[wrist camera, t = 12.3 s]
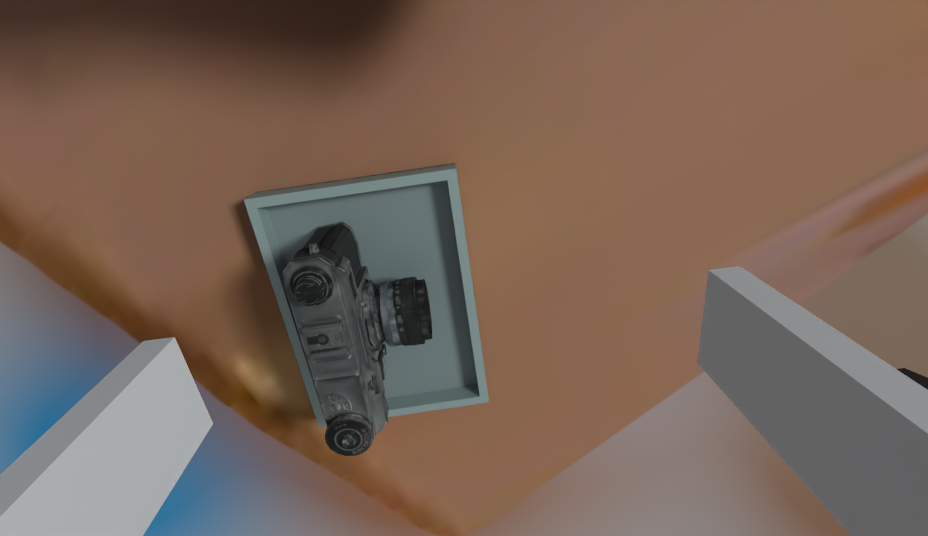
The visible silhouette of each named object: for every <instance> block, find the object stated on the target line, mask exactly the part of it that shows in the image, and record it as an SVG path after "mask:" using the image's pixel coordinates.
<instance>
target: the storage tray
mask: <svg viewBox="0 0 928 536" xmlns="http://www.w3.org/2000/svg"><path fill="white" fill-rule="evenodd" d="M244 202H245V205H246V208H247V211H248V215H249V218H250V221H251V224H252V227H253V230H254V233H255V236H256V239H257V242H258V245H259V248H260V251H261V254H262V257H263V260H264V263H265V266H266V269H267V272H268V275H269V278H270V281H271V284H272V287H273V290H274V293H275V296H276V299H277V302H278V305H279V308H280V311H281V314H282V317H283V320H284V323H285V326H286V330H287V333H288V336H289V339H290V342H291V345H292V348H293V351H294V354H295V357H296V360H297V363H298V366H299V369H300V372H301V375H302V378H303V381H304V384H305V387H306V390H307V393H308V396H309V399H310V402H311V405H312V408H313V411H314V414H315V417H316V420H317V423H318V426H319V427H324V426H327V425H326V421H325V418H324V414H323V412H322V409H321V403H320V400H319V397H318V395H317V392H316V389H315V384H314V381H313V377H312V374H311V371H310V368H309V364H308V361H307V358H306V354H305V351H304V348H303V345H302V341H301V338H300V335H299V332H298V328H297V325H296V322H295V318H294V315H293V312H292V309H291V305H290V304H289V302H288V299H287V293H286V289H285V284H284V277H283V271H284V269H285V268H286V266H287V265H288V264H289V262H290V261H291V260H292V259H293V257H294V255H295V254H296V252H297V251H298V250H299V249H302V248H303V246H304V245H305V244H306V242H307V241H308V240H309V239H310V238H311V236H312V235H313V234H314V233H315V231H316V230H317V228H318V227H319V226H325V225H330V224H335V223H339V222H344V223H346V224H347V225H349V226H350V227H351V228H352V229H353V232H354V235H355V237H356V240H357V242H358V246H359V251H360V255H361V260H362V265H363V266H367V268H368V272H369V276H370V280H372V281H373V283H374V284H375V286H376V288H378V289H380V286H381V283H383V282H393V281H395V280H397V279H403V278H408V277H416V278H417V280H421V279H424V280H425V282H426V286H427V291H428V296H429V303H430V312H431V319H432V339H429V340H425V344H420V345H409V346H404V345H399V346H395V347H390V346H388V344H387V343H386V341H384V342H383V344H385V345H386V351H387V354H386V355H383V356H384V360H385V370H386V376H385V379H384V380H383V383H384V388H385V392H386V397H387V402H388V406H389V410H388V417H392V416H399V415H406V414H412V413H419V412H426V411H433V410H439V409H446V408H453V407H460V406H466V405H473V404H480V403H487V402H489V398H488V391H487V384H486V377H485V370H484V363H483V356H482V348H481V341H480V334H479V327H478V320H477V313H476V306H475V299H474V292H473V285H472V277H471V270H470V263H469V256H468V249H467V242H466V235H465V228H464V221H463V213H462V206H461V199H460V192H459V185H458V178H457V171H456V166H455V163H452V164H446V165H439V166H432V167H425V168H418V169H412V170H405V171H398V172H391V173H384V174H378V175H371V176H364V177H357V178H350V179H344V180H337V181H330V182H323V183H316V184H309V185H303V186H296V187H289V188H282V189H275V190H269V191H262V192H255V193H254V194H252V195H250V196H249V197H247V198H246V199H244Z"/></svg>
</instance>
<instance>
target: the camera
mask: <svg viewBox="0 0 928 536" xmlns="http://www.w3.org/2000/svg"><path fill="white" fill-rule="evenodd" d="M283 277H284V284H285V289H286V293H287V299H288V302H289V304H290V305H291V309H292V312H293V315H294V318H295V322H296V325H297V328H298V332H299V335H300V338H301V341H302V345H303V348H304V351H305V354H306V358H307V361H308V364H309V368H310V371H311V374H312V377H313V381H314V384H315V389H316V392H317V395H318V397H319V400H320V403H321V409H322V412H323V414H324V418H325V421H326V425H327V430H326V434H325V440H326V443H327V445H328V446H329V448H330V449H331V450H333V451H334V452H336V453H337V454H341V455H344V456H355V455H359V454H362V453H363V452H365V451H366V450H368V448H369V447H370V446H371V444H372V441H373V439H374V438H375V436H376V432H380V431H381V430H382V428H383V427H384V426H385V425H386V424H387V422H388V410H389V406H388V402H387V397H386V392H385V388H384V383H383V380H384V379H385V376H386V370H385V360H384V356H383V355H386V354H387V351H386V345H385V344H383V342H384V341H386V343H387V344H388V346H390V347H395V346H399V345H404V346H409V345H420V344H425V340H429V339H432V319H431V312H430V303H429V296H428V291H427V286H426V282H425V280H424V279H421V280H417V278H416V277H408V278H403V279H397V280H395V281H393V282H383V283H381V286H380V289H378V288H376V286H375V284H374V283H373V281H372V280H370V276H369V272H368V268H367V266H363V265H362V260H361V255H360V251H359V246H358V242H357V240H356V237H355V235H354V232H353V229H352V228H351V227H350V226H349V225H347V224H346V223H344V222H339V223H335V224H330V225H325V226H319V227H318V228H317V230H316V231H315V233H314V234H313V235H312V236H311V238H310V239H309V240H308V241H307V242H306V244H305V245H304V246H303V248H302V249H299V250H298V251H297V252H296V254H295V255H294V257H293V259H292V260H291V261H290V262H289V264H288V265H287V266H286V268H285V269H284V271H283Z"/></svg>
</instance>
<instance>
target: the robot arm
mask: <svg viewBox="0 0 928 536" xmlns="http://www.w3.org/2000/svg"><path fill="white" fill-rule="evenodd" d="M697 363H698V364H699V365H700V366H701V367H702V368H703V369H704V371H705V372H706V373H707V374H708V375H709V376H710V377H711V378H712V379H713V381H714V382H715V383H716V384H717V385H718V386H719V387H720V389H721V390H722V391H723V392H724V393H725V394H726V395H727V396H728V398H729V399H730V400H731V401H732V402H733V403H734V405H735V406H736V407H737V408H738V409H739V410H740V411H741V412H742V414H743V415H744V416H745V417H746V418H747V419H748V420H749V422H750V423H751V424H752V425H753V426H754V427H755V428H756V430H757V431H758V432H759V433H760V434H761V435H762V436H763V437H764V438H765V440H766V441H767V442H768V443H769V444H770V445H771V446H772V448H773V449H774V450H775V451H776V452H777V453H778V454H779V456H780V457H781V458H782V459H783V460H784V461H785V462H786V464H787V465H788V466H789V467H790V468H791V469H792V470H793V471H794V473H796V475H797V476H798V477H799V478H800V479H801V481H802V482H803V483H804V484H805V485H806V486H807V487H808V488H809V489H810V491H811V492H812V493H813V494H814V495H815V496H816V497H817V498H818V500H819V501H820V502H821V503H822V504H823V505H824V507H825V508H826V509H827V510H828V511H829V512H830V513H831V515H832V516H833V517H834V518H835V519H836V520H837V521H838V522H839V524H840V525H841V526H842V527H843V528H844V529H845V530H846V532H847V533H848V534H849V535H850V536H928V378H927V377H924V376H922V375H919V374H917V373H915V372H912V371H910V370H908V369H905V368H902V369H895V368H894V367H892V366H891V365H889V364H888V363H886V362H885V361H883V360H882V359H880V358H878V357H877V356H875V355H874V354H872V353H870V352H869V351H868V350H866V349H865V348H863V347H862V346H860V345H859V344H857V343H856V342H854V341H853V340H851V339H849V338H848V337H847V336H845V335H844V334H842V333H840V332H839V331H837V330H836V329H834V328H833V327H831V326H830V325H828V324H827V323H825V322H824V321H822V320H821V319H819V318H818V317H816V316H815V315H813V314H812V313H810V312H809V311H807V310H805V309H804V308H802V307H801V306H799V305H798V304H796V303H795V302H793V301H792V300H790V299H789V298H787V297H786V296H784V295H783V294H781V293H780V292H778V291H777V290H775V289H774V288H772V287H771V286H769V285H767V284H766V283H764V282H763V281H761V280H760V279H758V278H757V277H755V276H754V275H752V274H751V273H749V272H748V271H746V270H745V269H743V268H742V267H740V266H737V267H729V268H721V269H713V270H709V271H708V280H707V288H706V296H705V304H704V313H703V321H702V329H701V337H700V346H699V354H698V362H697ZM212 425H213V422H212V420H211V418H210V416H209V414H208V411H207V409H206V407H205V404H204V402H203V400H202V398H201V395H200V393H199V391H198V389H197V386H196V384H195V382H194V380H193V377H192V375H191V373H190V371H189V368H188V366H187V364H186V361H185V359H184V357H183V355H182V352H181V350H180V348H179V346H178V343H177V341H176V339H175V337H171V338H163V339H155V340H148V341H143V342H142V343H141V344H140V345H139V346H138V347H136V348H135V349H134V350H133V351H132V352H131V353H130V354H129V355H128V356H127V357H126V358H125V359H124V360H123V361H121V362H120V363H119V364H118V365H117V366H116V367H115V368H114V369H113V370H112V371H111V372H110V373H109V374H108V375H107V376H105V377H104V378H103V379H102V380H101V381H100V382H99V383H98V384H97V385H96V386H95V387H94V388H93V389H91V391H89V392H88V393H87V394H86V395H85V396H84V397H83V398H82V399H81V400H80V401H79V402H78V403H77V404H75V405H74V406H73V407H72V408H71V409H70V410H69V411H68V412H67V413H66V414H65V415H64V416H63V417H61V418H60V419H59V420H58V421H57V422H56V423H55V424H54V425H53V426H52V427H51V428H50V429H49V430H48V431H46V432H45V434H43V435H42V436H41V437H40V438H39V439H38V440H37V441H36V442H35V443H34V444H33V445H32V446H31V447H29V449H27V450H26V451H25V452H24V453H23V454H22V455H21V456H20V457H19V458H18V459H16V461H14V462H13V463H12V464H11V465H10V466H9V467H8V468H7V469H6V470H5V471H4V472H3V473H1V474H0V536H143V535H144V533H145V531H146V530H147V528H148V527H149V525H150V523H151V522H152V520H153V518H154V517H155V515H156V514H157V512H158V511H159V509H160V507H161V506H162V504H163V503H164V501H165V499H166V498H167V496H168V495H169V493H170V492H171V490H172V488H173V487H174V485H175V484H176V482H177V480H178V479H179V477H180V476H181V474H182V472H183V471H184V469H185V467H186V466H187V464H188V463H189V461H190V459H191V458H192V457H193V455H194V453H195V452H196V450H197V448H198V447H199V445H200V444H201V442H202V441H203V439H204V437H205V436H206V434H207V433H208V431H209V429H210V428H211V426H212Z"/></svg>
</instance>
